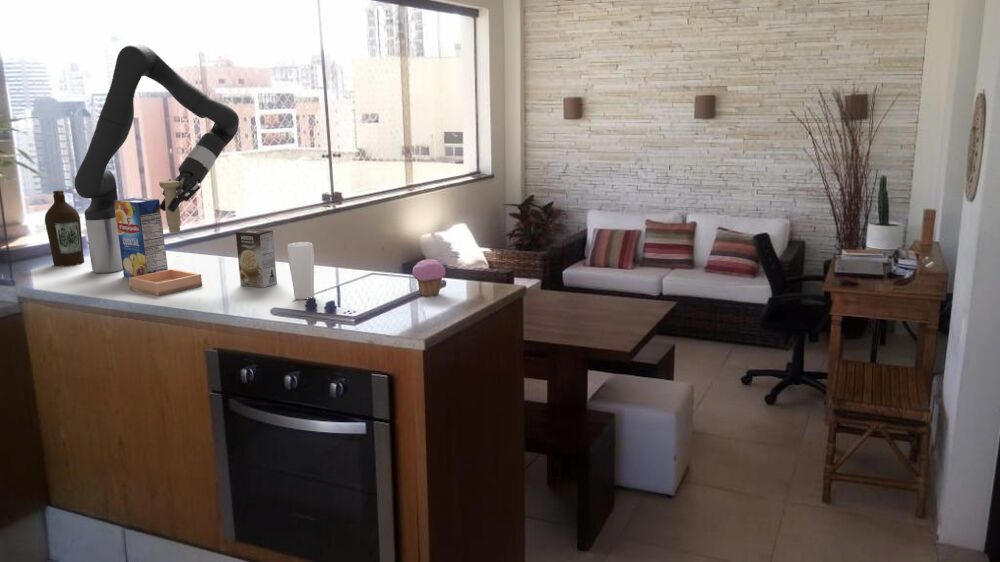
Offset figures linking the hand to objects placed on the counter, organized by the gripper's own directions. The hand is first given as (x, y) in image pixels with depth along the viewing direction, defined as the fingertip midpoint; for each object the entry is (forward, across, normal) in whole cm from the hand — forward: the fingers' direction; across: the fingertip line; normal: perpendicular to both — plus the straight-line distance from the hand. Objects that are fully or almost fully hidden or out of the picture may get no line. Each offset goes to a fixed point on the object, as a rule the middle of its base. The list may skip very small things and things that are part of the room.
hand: (166, 209), depth 240 cm
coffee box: (+7, +23, +25) cm, 35 cm away
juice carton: (+14, -19, +18) cm, 30 cm away
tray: (+19, +2, +13) cm, 23 cm away
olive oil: (+16, -62, +17) cm, 66 cm away
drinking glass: (+10, +48, +22) cm, 53 cm away
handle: (+4, 0, +6) cm, 7 cm away
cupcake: (-4, +76, +35) cm, 84 cm away
